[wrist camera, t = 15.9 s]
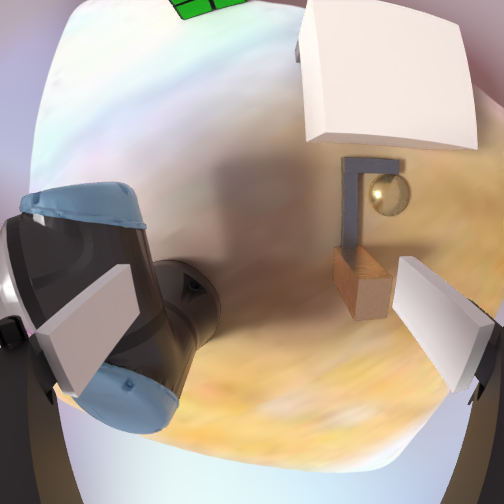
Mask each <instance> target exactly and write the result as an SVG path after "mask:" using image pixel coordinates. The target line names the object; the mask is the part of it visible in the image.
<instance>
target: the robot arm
mask: <svg viewBox="0 0 504 504" xmlns="http://www.w3.org/2000/svg"><path fill="white" fill-rule="evenodd" d="M19 208H20V211H21V212H22V214H20V215H17V216H15V217H12V218H9V219H7V220H5V222H4V224H3V226H2V228H1V230H0V345H1V348H0V504H84V503H83V501H82V498H81V495H80V492H79V489H78V487H77V484H76V481H75V477H74V474H73V471H72V467H71V464H70V460H69V456H68V453H67V448H66V445H65V440H64V436H63V431H62V426H61V421H60V416H59V409H58V403H57V396H56V393H55V391H54V389H53V386H54V385H55V384H56V382H57V383H58V385H59V387H60V389H61V390H62V392H63V394H66V395H69V396H71V397H72V398H73V399H74V401H75V402H76V403H77V404H78V405H79V406H80V407H81V408H82V409H83V410H85V411H86V412H87V413H88V414H90V415H91V416H92V417H94V418H96V419H97V420H99V421H101V422H103V423H104V424H106V425H108V426H111V427H113V428H116V429H118V430H121V431H125V432H129V433H134V434H152V433H156V432H158V431H161V430H162V429H163V428H165V427H166V426H167V425H168V424H169V423H170V421H171V419H172V417H173V415H174V413H175V411H176V409H177V408H178V406H179V399H180V396H181V393H182V390H183V387H184V384H185V381H186V378H187V375H188V373H189V370H190V367H191V364H192V361H193V358H194V355H195V352H196V351H197V350H198V349H199V348H200V347H202V346H203V345H204V344H206V343H207V342H208V341H209V340H210V339H211V337H212V336H213V334H214V333H215V331H216V328H217V325H218V322H219V318H220V302H219V298H218V295H217V293H216V291H215V289H214V287H213V285H212V284H211V283H210V281H209V280H208V279H207V278H206V277H205V276H204V275H203V274H202V273H201V272H199V271H198V270H196V269H195V268H193V267H191V266H189V265H187V264H185V263H181V262H178V261H171V260H163V261H157V262H154V263H153V261H152V257H151V253H150V249H149V245H148V240H147V236H146V231H145V229H146V224H145V223H144V222H143V219H142V215H141V212H140V208H139V204H138V200H137V196H136V194H135V192H134V190H133V189H132V188H131V187H130V186H128V185H127V184H124V183H121V182H97V183H86V184H77V185H70V186H63V187H58V188H52V189H48V190H44V191H41V192H37V193H31V194H28V195H26V196H24V197H23V198H22V199H21V205H20V207H19ZM392 308H393V309H394V310H395V312H396V313H397V314H398V316H399V317H400V318H401V320H402V321H403V322H404V324H405V325H406V326H407V328H408V329H409V330H410V332H411V333H412V335H413V336H414V337H415V339H416V340H417V341H418V343H419V344H420V346H421V347H422V349H423V350H424V351H425V353H426V354H427V356H428V357H429V359H430V360H431V361H432V363H433V364H434V366H435V367H436V369H437V370H438V372H439V373H440V375H441V376H442V378H443V379H444V381H445V382H446V384H447V385H448V387H449V388H450V390H451V392H452V393H456V392H460V391H463V390H466V389H468V388H469V386H470V384H471V382H472V380H473V378H474V376H476V378H477V379H478V380H479V383H478V385H477V387H476V389H475V391H474V393H473V395H472V397H471V398H470V400H469V402H468V405H470V404H471V402H472V401H473V404H472V409H471V414H470V418H469V422H468V426H467V430H466V434H465V437H464V441H463V444H462V448H461V451H460V454H459V457H458V460H457V463H456V466H455V469H454V472H453V475H452V477H451V480H450V482H449V485H448V487H447V490H446V492H445V494H444V497H443V499H442V501H441V503H440V504H504V327H502V326H501V325H499V324H498V323H497V322H496V321H495V320H494V319H493V318H492V317H491V316H489V315H488V314H487V313H485V311H484V310H482V309H481V308H479V306H478V305H477V304H475V303H474V302H473V301H472V300H470V299H468V298H466V297H465V296H463V295H462V294H461V293H460V292H459V291H457V290H456V289H455V288H454V287H452V286H451V285H450V284H449V283H447V282H446V281H445V280H444V279H442V278H441V277H440V276H439V275H437V274H436V273H435V272H433V271H432V270H431V269H429V268H428V267H427V266H425V265H424V264H423V263H421V262H420V261H419V260H417V259H416V258H415V257H413V256H400V257H399V265H398V273H397V280H396V287H395V294H394V300H393V306H392ZM27 332H28V333H30V334H32V335H31V336H30V337H28V334H27Z"/></svg>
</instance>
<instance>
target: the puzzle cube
mask: <svg viewBox="0 0 504 504" xmlns="http://www.w3.org/2000/svg"><path fill="white" fill-rule="evenodd" d="M169 1H170V3H171V4H172V5H173V7H174V9H175V10H176V12H177V13H178V15H179V16H180V18H181V19H183V20H185V19H188V18H191V17H194V16H197V15H200V14H203V13H206V12H209V11H213V9H219V8H223V7H227V6H231V5H235V4H239V3H243V2H246V1H247V0H169Z"/></svg>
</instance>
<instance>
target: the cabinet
mask: <svg viewBox="0 0 504 504" xmlns="http://www.w3.org/2000/svg"><path fill="white" fill-rule="evenodd" d="M295 55H296V62H300V63H301V72H302V84H303V97H304V113H305V131H306V142H326V143H354V144H371V145H384V146H396V147H406V148H415V149H423V150H428V149H462V150H478V142H477V126H476V114H475V105H474V97H473V90H472V83H471V77H470V72H469V68H468V62H467V57H466V53H465V49H464V44H463V41H462V37H461V33H460V30H459V26H458V25H457V24H454V23H452V22H449V21H447V20H444V19H441V18H439V17H436V16H432V15H430V14H427V13H424V12H420V11H417V10H414V9H410V8H407V7H403V6H399V5H395V4H391V3H387V2H382V1H378V0H308V2H307V6H306V10H305V13H304V17H303V21H302V25H301V29H300V33H299V37H298V41H297V45H296V49H295Z"/></svg>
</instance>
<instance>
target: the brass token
mask: <svg viewBox="0 0 504 504" xmlns="http://www.w3.org/2000/svg"><path fill="white" fill-rule="evenodd" d="M369 199H370V202H371V205H372V207H373V208H374V209H375V210H376V211H377V212H378V213H380V214H382V215H384V216H395V215H397V214H399V213H400V212H402V211H403V209H404V208H405V206H406V204H407V201H408V189H407V186H406V184H405V182H404V181H403V180H402V179H401V178H400V177H398V176H396V175H393V174H382V175H380V176H378V177H377V178H376V179H375V180H374V181H373V182H372V184H371V186H370V190H369Z"/></svg>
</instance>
